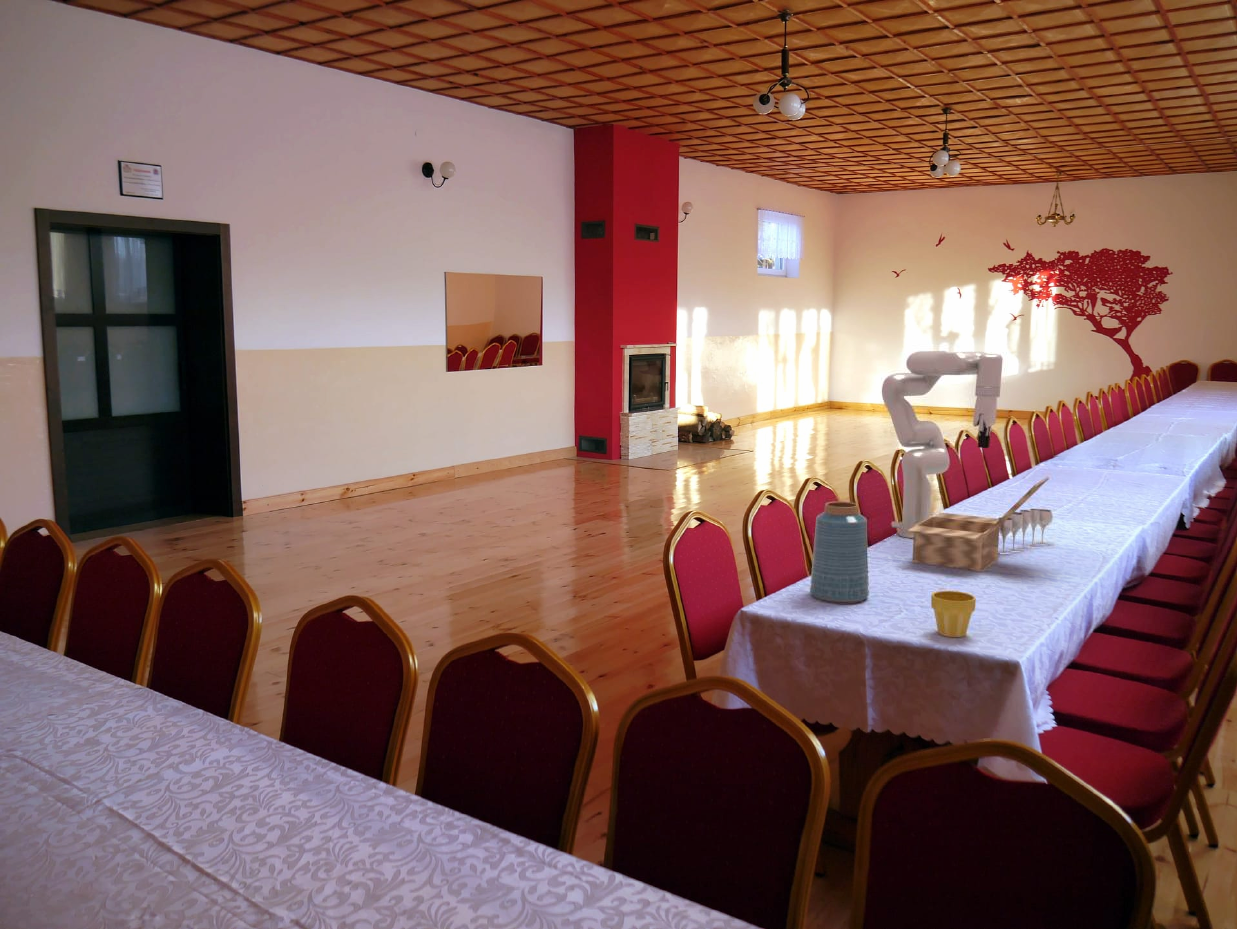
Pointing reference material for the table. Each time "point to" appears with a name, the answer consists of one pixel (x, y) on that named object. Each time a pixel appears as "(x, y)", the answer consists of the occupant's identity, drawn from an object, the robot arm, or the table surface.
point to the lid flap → (1017, 505)
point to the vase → (840, 555)
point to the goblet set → (1025, 524)
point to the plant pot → (952, 612)
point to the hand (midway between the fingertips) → (983, 447)
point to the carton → (956, 541)
